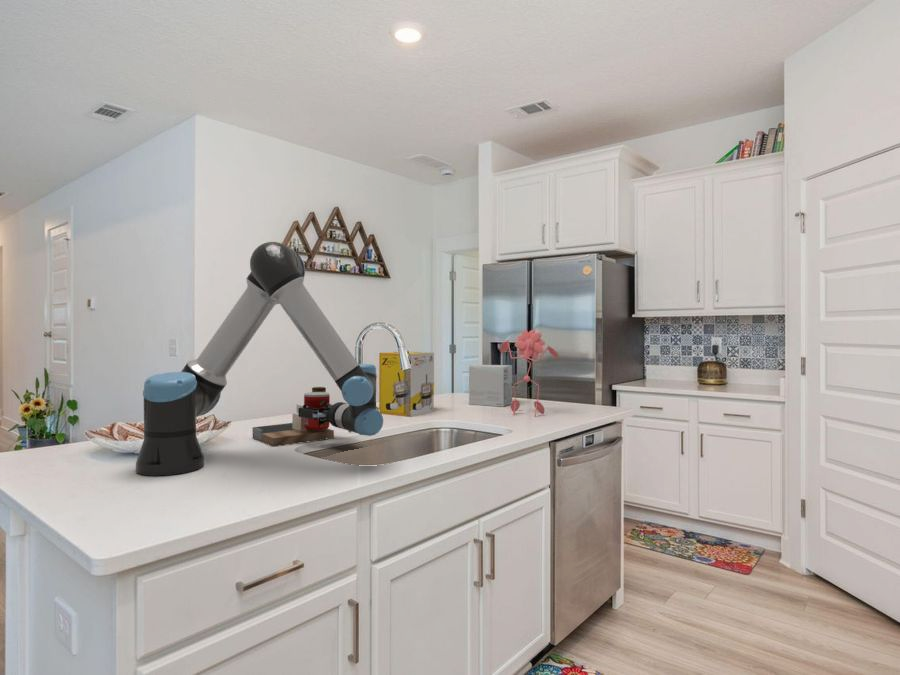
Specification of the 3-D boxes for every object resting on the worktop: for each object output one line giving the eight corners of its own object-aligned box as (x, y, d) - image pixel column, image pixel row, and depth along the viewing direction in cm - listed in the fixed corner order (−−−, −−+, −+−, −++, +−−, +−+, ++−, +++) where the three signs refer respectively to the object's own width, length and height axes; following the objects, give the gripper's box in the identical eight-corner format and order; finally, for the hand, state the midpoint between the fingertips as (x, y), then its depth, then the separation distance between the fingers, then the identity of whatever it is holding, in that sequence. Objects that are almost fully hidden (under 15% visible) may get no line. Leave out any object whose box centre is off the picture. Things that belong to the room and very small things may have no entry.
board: (273, 446, 165) (273, 438, 165) (261, 441, 172) (261, 433, 172) (333, 438, 178) (333, 430, 178) (320, 434, 185) (320, 426, 185)
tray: (261, 441, 172) (261, 430, 172) (252, 438, 178) (252, 427, 178) (320, 434, 185) (320, 423, 185) (310, 430, 191) (310, 420, 191)
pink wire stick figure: (555, 418, 219) (556, 329, 220) (493, 413, 231) (494, 329, 231) (565, 414, 233) (566, 330, 233) (506, 410, 245) (507, 329, 245)
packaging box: (411, 416, 222) (411, 353, 222) (379, 413, 231) (379, 352, 230) (433, 411, 236) (434, 352, 235) (402, 408, 244) (403, 351, 244)
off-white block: (300, 430, 178) (300, 414, 178) (292, 428, 180) (292, 413, 180) (312, 428, 181) (312, 413, 181) (304, 427, 184) (304, 411, 184)
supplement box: (512, 403, 263) (513, 365, 263) (503, 407, 251) (504, 366, 251) (478, 401, 270) (478, 363, 270) (468, 404, 258) (468, 365, 258)
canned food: (323, 430, 173) (323, 395, 173) (299, 429, 175) (299, 394, 174) (333, 426, 180) (333, 392, 180) (310, 425, 182) (310, 391, 182)
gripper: (312, 433, 157) (279, 422, 175) (375, 425, 170) (338, 415, 188) (312, 406, 157) (279, 398, 174) (375, 400, 170) (338, 393, 188)
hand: (309, 407), depth 181 cm, fingers closed on canned food, 8 cm apart
